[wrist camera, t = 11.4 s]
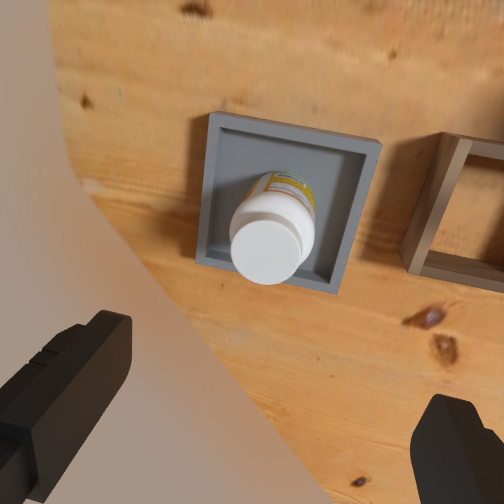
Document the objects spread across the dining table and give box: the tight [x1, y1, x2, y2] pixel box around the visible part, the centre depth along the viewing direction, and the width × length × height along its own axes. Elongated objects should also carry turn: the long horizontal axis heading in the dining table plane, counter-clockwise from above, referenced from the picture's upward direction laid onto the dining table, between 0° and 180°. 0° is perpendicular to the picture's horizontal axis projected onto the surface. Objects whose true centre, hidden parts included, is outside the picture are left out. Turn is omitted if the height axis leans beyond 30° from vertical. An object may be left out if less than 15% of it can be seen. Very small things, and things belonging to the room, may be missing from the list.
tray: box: [195, 111, 382, 295], centre depth 29 cm, size 12×12×2 cm
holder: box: [399, 132, 504, 293], centre depth 26 cm, size 10×10×4 cm
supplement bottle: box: [229, 171, 315, 285], centre depth 25 cm, size 5×5×10 cm
